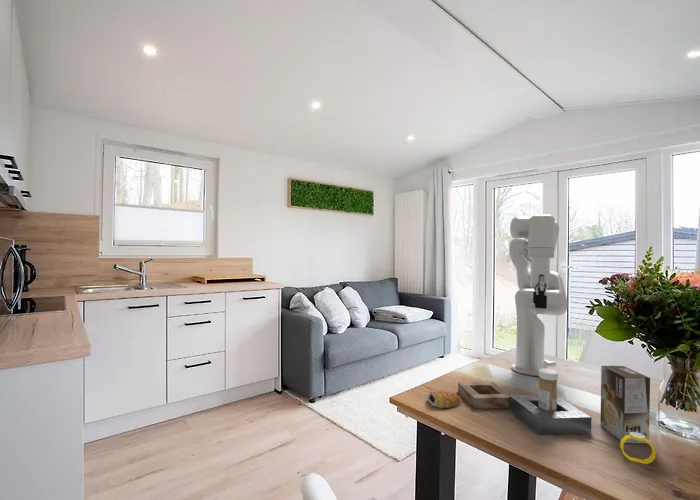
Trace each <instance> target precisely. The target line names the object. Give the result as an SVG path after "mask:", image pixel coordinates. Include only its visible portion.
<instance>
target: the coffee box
mask: <svg viewBox="0 0 700 500" xmlns="http://www.w3.org/2000/svg"><path fill="white" fill-rule="evenodd" d="M600 369H601V371H600V372H601V373H600V375H601V376H600V419H599V420H600V422H599V423H600V427H602V428H604V429H605V430H606V431H608V432H609V433H610V434H612V436H614V437H615V438H617V439H618V440H619V441H621V439H622V438H623V437H624V436H626V435H629V434H630V432H637V433H641V434H643V435H644V436H645V437H646V439H647V440H649V441H650V413H651V412H650V402H651V377H649V376H646V375H645V374H642V373H641V372H638V371H635V370H634V369H632V368H628V367H627V366H625V365H624V366H623V365H601V367H600ZM643 443H644V445H645V444H646V443H647V442H645V441H638V440H635V439H628V440H627V441H626V442H625V443H624V444H643ZM646 445H649V444H648V443H647V444H646Z"/></svg>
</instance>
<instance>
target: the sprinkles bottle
mask: <svg viewBox="0 0 700 500" xmlns="http://www.w3.org/2000/svg"><path fill="white" fill-rule="evenodd" d="M558 375H559V374H558V372H557V371H556V370H553V369H550V368H546V369H539V376H538V377H539V378H538V380H539V381H538V395H539V409H541V410H542V411H543V412H556V409H557V396H558V392H557V390H558V387H557V383H558V379H559V376H558Z"/></svg>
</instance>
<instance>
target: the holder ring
mask: <svg viewBox="0 0 700 500" xmlns="http://www.w3.org/2000/svg"><path fill="white" fill-rule="evenodd" d="M457 385H458V386H457V392H458V393H459V394H460V395H461V396H462V397H463V398H464V400H465V401H467V402H468V404H469V405H471V407H472V408H474V409H502V408H503V409H504V408H506V409H507V408H508V409H509V395H511V394H510V393H509V392H508V391H506V390H505V389H504V388H503V387H502V386H500V385H498V384H497V383H496V382H494V381H469V382H468V381H467V382H464V381H463V382H462V381H461V382H458V383H457Z"/></svg>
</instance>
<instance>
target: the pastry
mask: <svg viewBox="0 0 700 500" xmlns="http://www.w3.org/2000/svg"><path fill="white" fill-rule="evenodd" d="M427 395H428V396H427V400H428V403H429V402H430V403H431V405H432V406H435V408H437V407H438V408H437V409H444V408H446V409H450V408H454V407H458V406H460V404H461V398H460V397H459V395H458V394H456V393H453V392H452V393H451V392H450V391H446V390H440V389H439V390H433V391H429V393H428V394H427ZM430 403H429V404H430Z"/></svg>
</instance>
